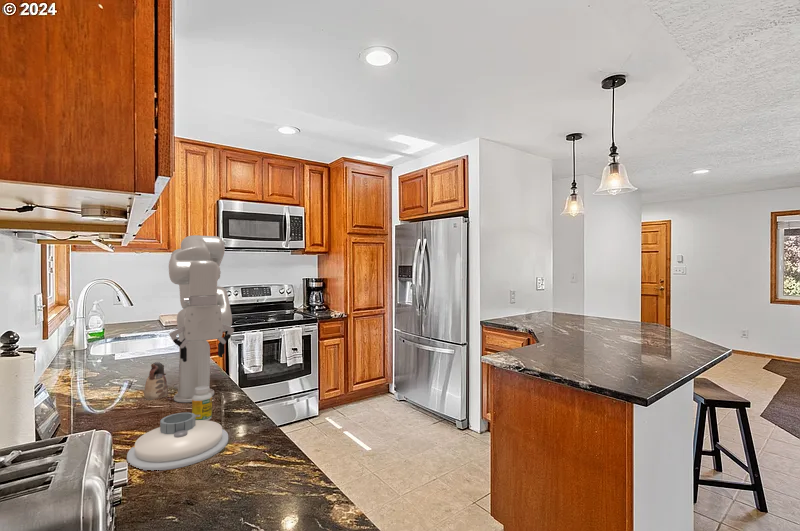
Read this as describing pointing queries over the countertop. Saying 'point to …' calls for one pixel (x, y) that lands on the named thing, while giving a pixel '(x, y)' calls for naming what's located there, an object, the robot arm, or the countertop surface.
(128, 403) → the countertop surface
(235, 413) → the countertop surface
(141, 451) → the white round disc
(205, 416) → the supplement bottle
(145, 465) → the base
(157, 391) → the figurine
